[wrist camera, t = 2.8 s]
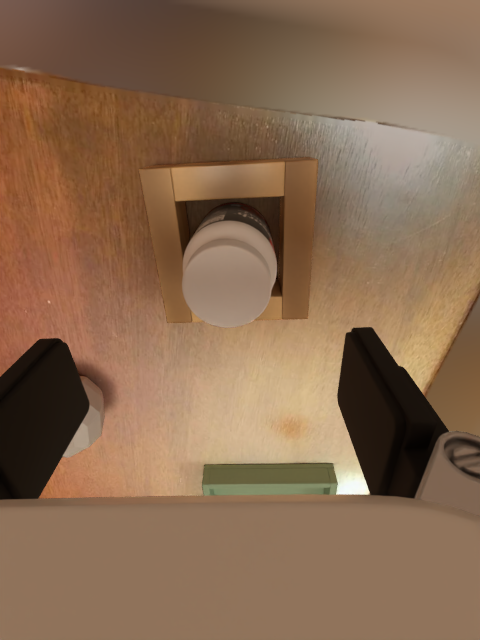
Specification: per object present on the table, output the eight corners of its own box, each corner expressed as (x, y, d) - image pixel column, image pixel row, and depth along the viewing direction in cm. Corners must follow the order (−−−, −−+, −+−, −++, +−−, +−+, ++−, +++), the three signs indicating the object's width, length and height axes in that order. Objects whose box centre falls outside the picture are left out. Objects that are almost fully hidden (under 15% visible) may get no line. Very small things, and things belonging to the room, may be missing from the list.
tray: (332, 463, 38) (337, 483, 36) (321, 535, 46) (325, 556, 44) (204, 464, 39) (201, 484, 36) (216, 536, 47) (214, 556, 45)
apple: (32, 395, 34) (-12, 447, 28) (54, 344, 30) (9, 392, 25) (103, 425, 36) (76, 479, 30) (131, 380, 32) (106, 432, 27)
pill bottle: (285, 244, 25) (304, 300, 16) (230, 285, 27) (221, 354, 18) (239, 183, 23) (234, 210, 14) (183, 232, 25) (148, 282, 16)
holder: (308, 156, 22) (318, 159, 19) (301, 299, 27) (308, 319, 24) (152, 165, 22) (137, 168, 19) (175, 303, 28) (167, 323, 25)
